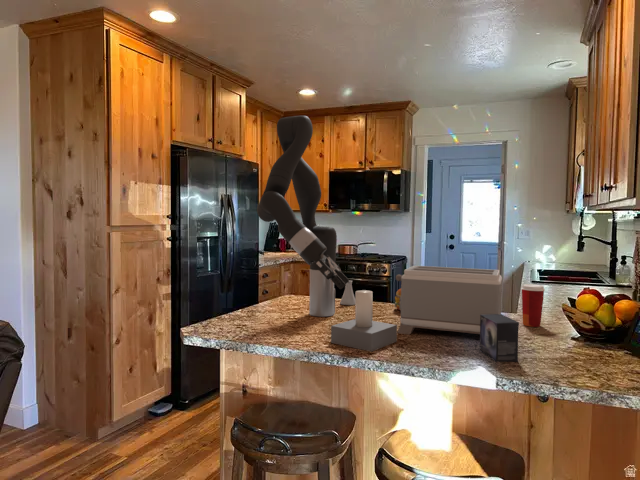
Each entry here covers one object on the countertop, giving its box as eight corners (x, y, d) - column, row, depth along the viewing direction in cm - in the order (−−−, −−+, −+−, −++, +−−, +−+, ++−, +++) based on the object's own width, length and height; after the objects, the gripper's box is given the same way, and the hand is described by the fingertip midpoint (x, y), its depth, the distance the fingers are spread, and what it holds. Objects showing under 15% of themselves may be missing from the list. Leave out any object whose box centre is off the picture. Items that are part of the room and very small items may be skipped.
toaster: (401, 320, 171) (402, 264, 170) (502, 330, 158) (504, 269, 157) (387, 332, 153) (388, 269, 152) (500, 344, 140) (503, 276, 139)
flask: (355, 306, 198) (355, 282, 197) (338, 305, 199) (338, 281, 199) (357, 303, 205) (358, 280, 204) (341, 302, 206) (341, 279, 206)
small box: (477, 350, 133) (478, 313, 132) (500, 350, 133) (501, 313, 133) (494, 362, 122) (496, 322, 122) (518, 361, 123) (520, 321, 122)
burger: (422, 315, 180) (423, 289, 179) (388, 311, 187) (389, 286, 186) (432, 310, 192) (433, 285, 191) (400, 306, 198) (401, 282, 198)
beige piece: (361, 322, 143) (361, 289, 143) (375, 324, 140) (375, 291, 140) (352, 325, 139) (352, 292, 139) (366, 328, 136) (366, 293, 136)
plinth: (357, 333, 150) (357, 318, 150) (396, 341, 141) (396, 324, 141) (330, 342, 139) (331, 325, 139) (371, 351, 130) (371, 333, 130)
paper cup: (546, 325, 166) (548, 285, 165) (539, 328, 160) (540, 287, 160) (523, 321, 171) (525, 283, 171) (515, 325, 166) (517, 285, 165)
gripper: (312, 238, 134) (351, 279, 133) (320, 236, 148) (356, 273, 147) (293, 256, 135) (332, 297, 134) (303, 252, 149) (339, 290, 148)
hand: (345, 285), depth 140 cm, fingers open, 8 cm apart
